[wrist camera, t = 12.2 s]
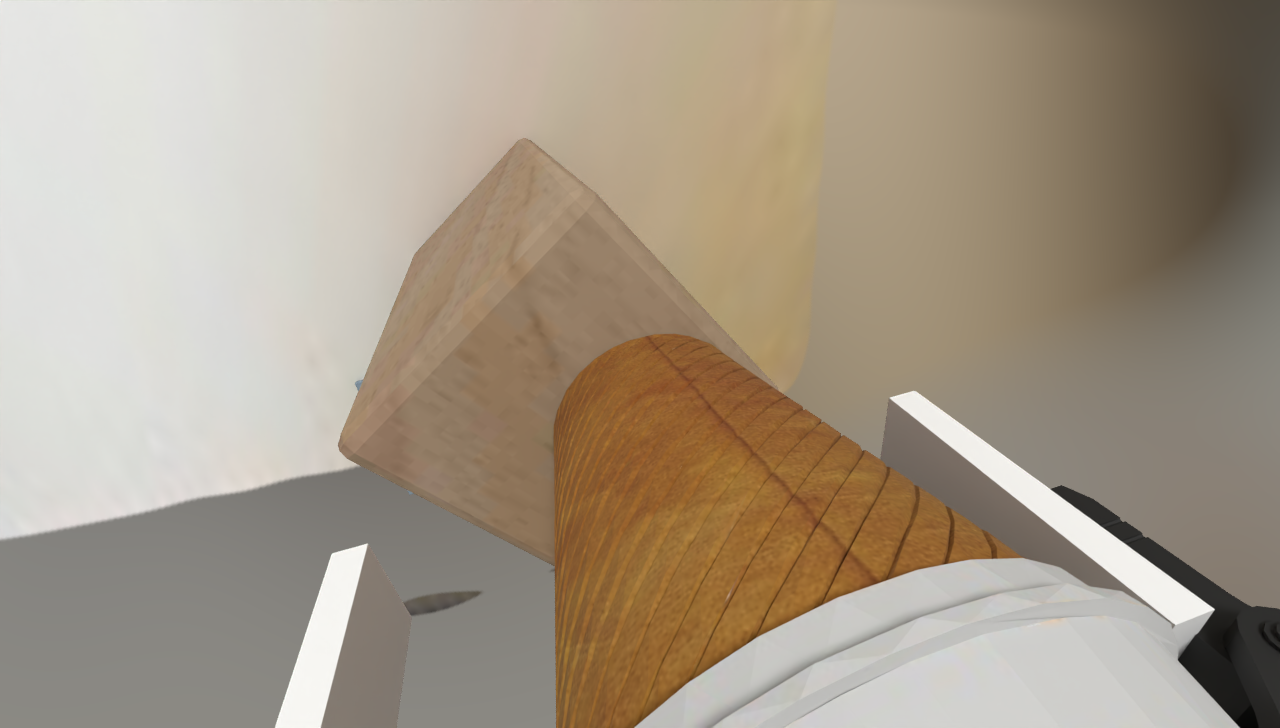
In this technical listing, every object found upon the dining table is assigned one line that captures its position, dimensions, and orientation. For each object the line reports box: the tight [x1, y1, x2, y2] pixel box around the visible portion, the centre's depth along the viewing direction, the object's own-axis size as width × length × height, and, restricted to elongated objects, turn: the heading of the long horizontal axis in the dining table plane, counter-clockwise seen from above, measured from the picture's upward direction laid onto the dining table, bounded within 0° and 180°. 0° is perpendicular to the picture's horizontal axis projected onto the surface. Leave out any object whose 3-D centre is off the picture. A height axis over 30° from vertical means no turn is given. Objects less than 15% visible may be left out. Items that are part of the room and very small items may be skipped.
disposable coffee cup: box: [554, 334, 1240, 728], centre depth 11 cm, size 10×10×12 cm
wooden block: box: [338, 138, 779, 566], centre depth 24 cm, size 10×10×20 cm
